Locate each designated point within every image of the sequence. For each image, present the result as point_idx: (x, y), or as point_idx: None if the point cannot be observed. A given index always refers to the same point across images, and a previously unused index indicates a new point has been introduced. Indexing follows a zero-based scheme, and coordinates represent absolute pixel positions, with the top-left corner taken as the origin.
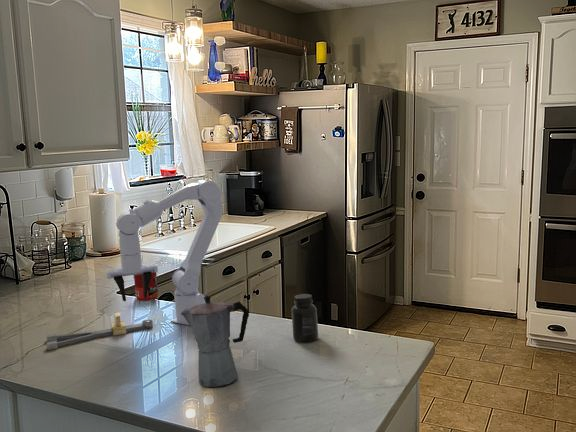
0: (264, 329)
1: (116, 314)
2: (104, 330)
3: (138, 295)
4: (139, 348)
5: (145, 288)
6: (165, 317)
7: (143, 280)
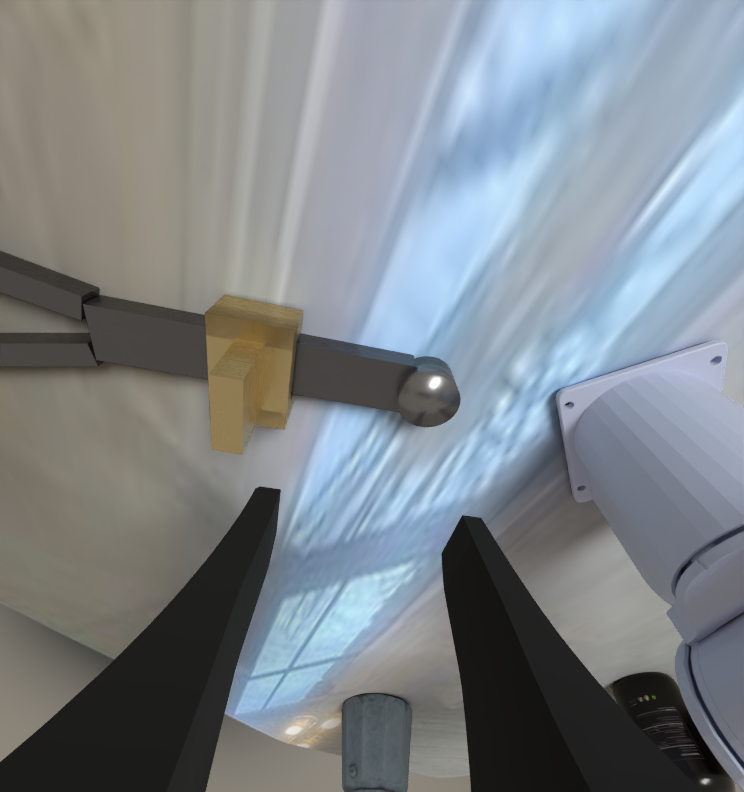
0: (663, 621)
1: (222, 412)
2: (170, 335)
3: None
4: (298, 552)
5: (467, 670)
6: (613, 274)
7: (500, 779)
